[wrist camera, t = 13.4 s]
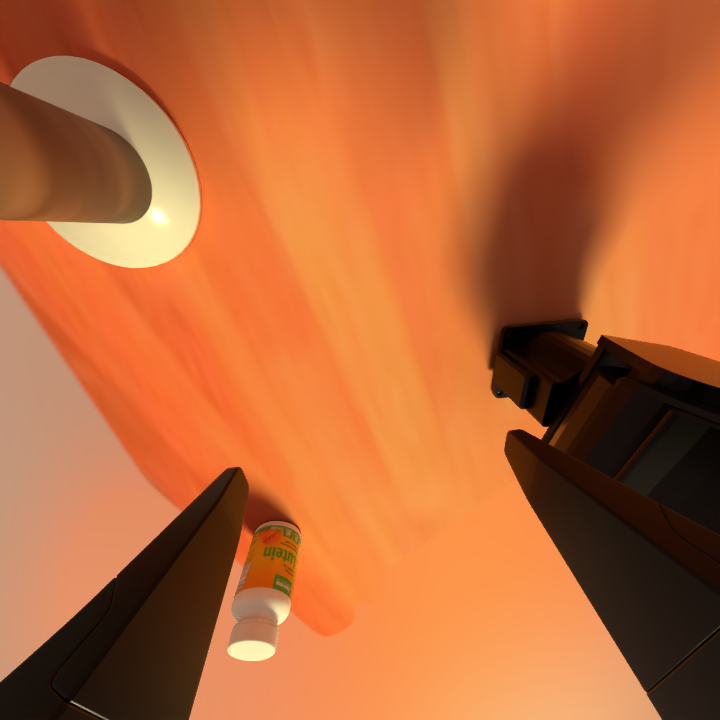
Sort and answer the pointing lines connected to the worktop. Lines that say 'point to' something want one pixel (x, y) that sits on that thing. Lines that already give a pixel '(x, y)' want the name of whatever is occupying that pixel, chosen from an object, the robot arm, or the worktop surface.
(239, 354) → the worktop surface
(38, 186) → the walnut peg
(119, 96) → the cream disc
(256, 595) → the supplement bottle
